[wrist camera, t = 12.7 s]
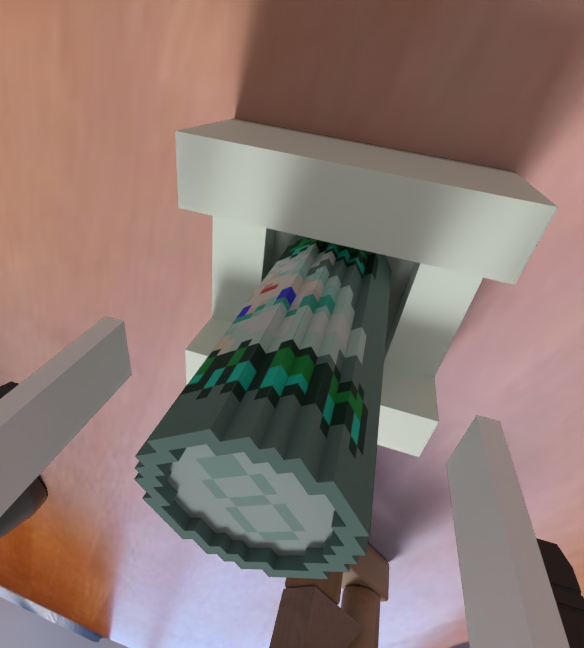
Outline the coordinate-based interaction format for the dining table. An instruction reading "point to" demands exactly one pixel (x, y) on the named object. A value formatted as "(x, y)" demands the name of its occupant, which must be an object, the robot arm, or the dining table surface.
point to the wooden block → (334, 607)
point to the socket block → (360, 239)
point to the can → (282, 421)
